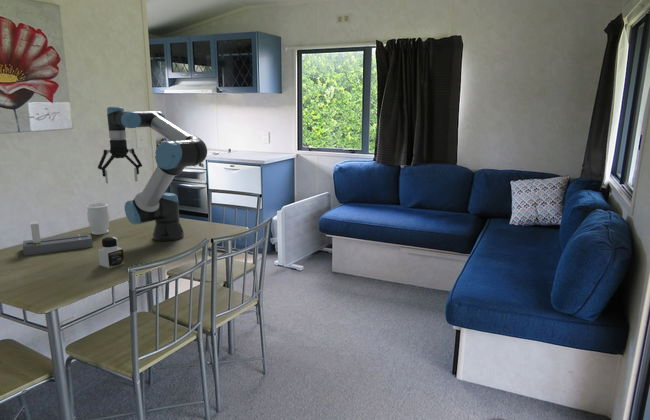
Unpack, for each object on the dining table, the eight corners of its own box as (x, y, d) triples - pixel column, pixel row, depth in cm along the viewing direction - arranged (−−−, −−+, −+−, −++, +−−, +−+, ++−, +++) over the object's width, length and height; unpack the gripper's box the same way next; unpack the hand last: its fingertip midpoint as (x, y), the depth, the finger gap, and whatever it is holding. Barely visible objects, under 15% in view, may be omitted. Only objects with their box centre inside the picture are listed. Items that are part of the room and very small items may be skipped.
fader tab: (41, 243, 222) (38, 220, 219) (41, 247, 216) (38, 223, 214) (33, 244, 220) (30, 221, 217) (33, 248, 215) (30, 224, 212)
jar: (102, 236, 243) (99, 207, 239) (84, 234, 245) (81, 206, 241) (115, 230, 253) (112, 203, 249) (98, 229, 255) (95, 202, 251)
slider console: (90, 240, 235) (89, 232, 234) (92, 246, 225) (91, 238, 224) (24, 249, 221) (23, 240, 220) (23, 255, 211) (22, 246, 210)
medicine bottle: (109, 268, 197) (106, 241, 194) (99, 265, 200) (96, 238, 198) (124, 263, 203) (122, 237, 200) (114, 260, 206) (111, 234, 204)
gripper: (143, 137, 239) (146, 178, 244) (88, 139, 227) (93, 182, 232) (146, 138, 233) (149, 181, 238) (90, 140, 220) (95, 185, 225)
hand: (121, 182), depth 235 cm, fingers open, 13 cm apart
